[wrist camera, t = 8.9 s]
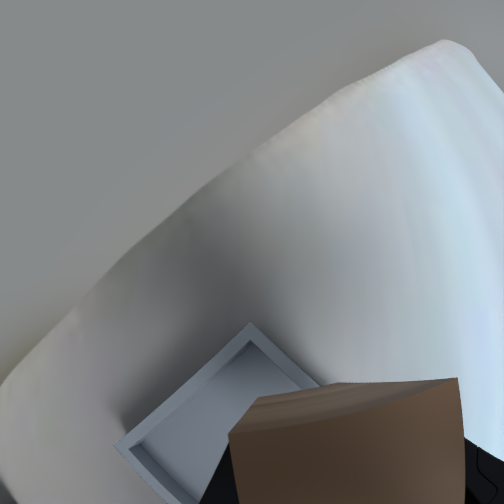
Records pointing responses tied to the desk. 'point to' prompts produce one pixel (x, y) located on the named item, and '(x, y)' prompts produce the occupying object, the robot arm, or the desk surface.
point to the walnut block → (353, 445)
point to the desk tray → (207, 415)
